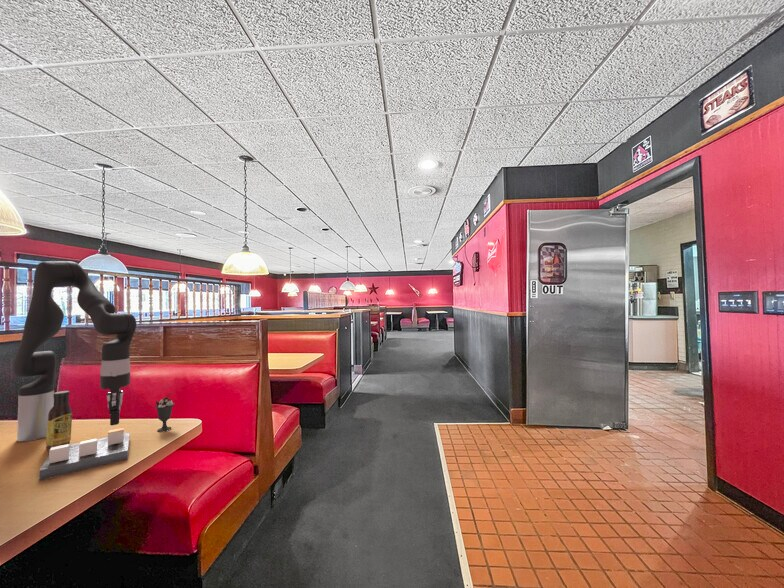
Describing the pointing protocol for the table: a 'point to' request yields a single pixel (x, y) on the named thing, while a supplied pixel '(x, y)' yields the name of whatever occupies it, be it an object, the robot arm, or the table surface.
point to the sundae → (164, 412)
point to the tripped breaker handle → (115, 436)
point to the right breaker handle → (59, 453)
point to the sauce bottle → (59, 421)
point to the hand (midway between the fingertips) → (114, 424)
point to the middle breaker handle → (87, 447)
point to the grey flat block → (86, 458)
